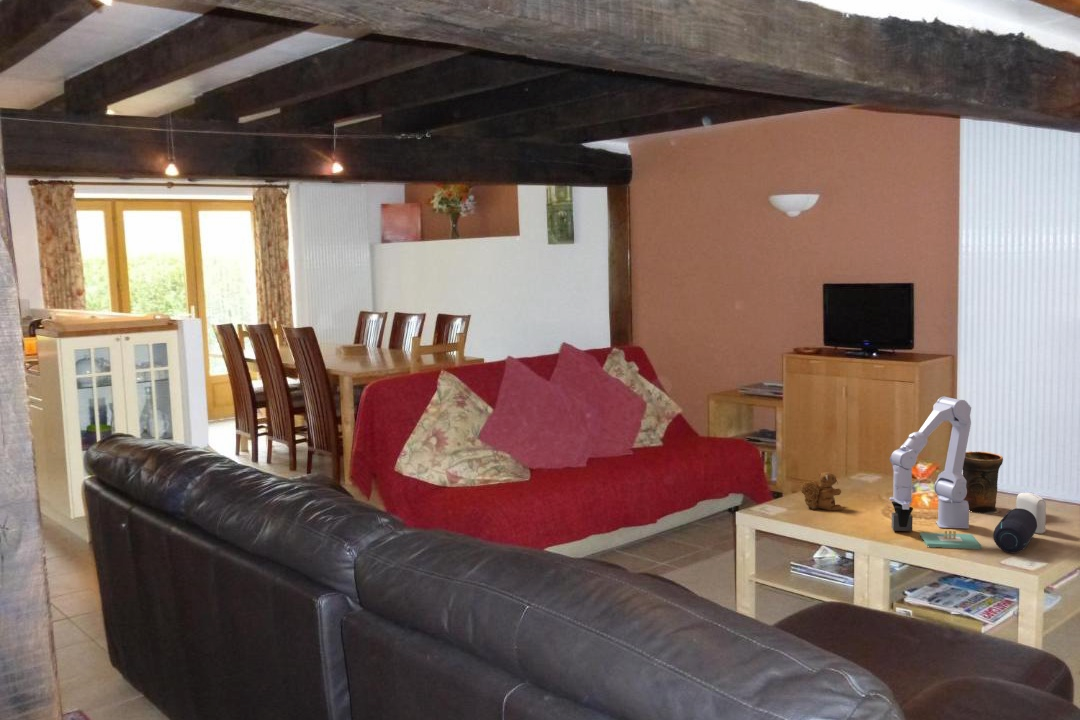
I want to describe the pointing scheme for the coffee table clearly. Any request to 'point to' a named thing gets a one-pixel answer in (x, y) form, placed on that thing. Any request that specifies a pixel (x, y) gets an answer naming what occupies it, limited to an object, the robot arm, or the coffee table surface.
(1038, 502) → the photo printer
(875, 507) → the coffee table surface
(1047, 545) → the coffee table surface
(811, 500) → the stuffed squirrel
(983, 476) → the vessel
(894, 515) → the plug housing
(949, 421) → the robot arm
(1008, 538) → the portable speaker
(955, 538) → the header board
